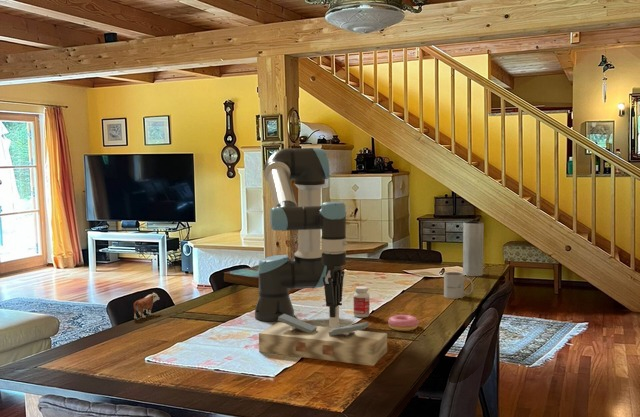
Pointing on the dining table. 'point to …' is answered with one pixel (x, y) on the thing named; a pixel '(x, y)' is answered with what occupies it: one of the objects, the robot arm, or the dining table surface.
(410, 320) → the doughnut
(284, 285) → the robot arm
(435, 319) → the dining table surface
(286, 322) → the rocker
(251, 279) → the book
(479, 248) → the vase
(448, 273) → the mug
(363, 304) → the pill bottle
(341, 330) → the rocker
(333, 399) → the dining table surface
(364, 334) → the console
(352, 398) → the dining table surface
